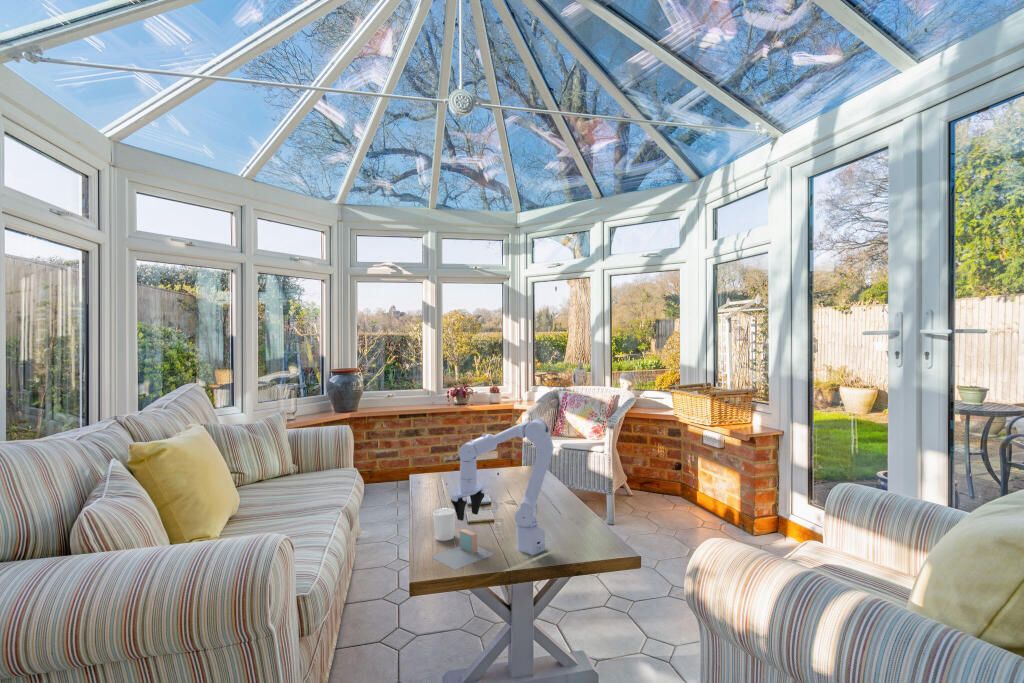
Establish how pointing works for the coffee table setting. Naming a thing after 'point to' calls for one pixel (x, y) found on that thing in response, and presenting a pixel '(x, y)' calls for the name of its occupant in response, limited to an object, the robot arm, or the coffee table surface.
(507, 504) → the coffee table surface
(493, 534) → the coffee table surface
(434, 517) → the white cup
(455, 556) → the felt mat
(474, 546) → the block
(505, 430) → the robot arm
